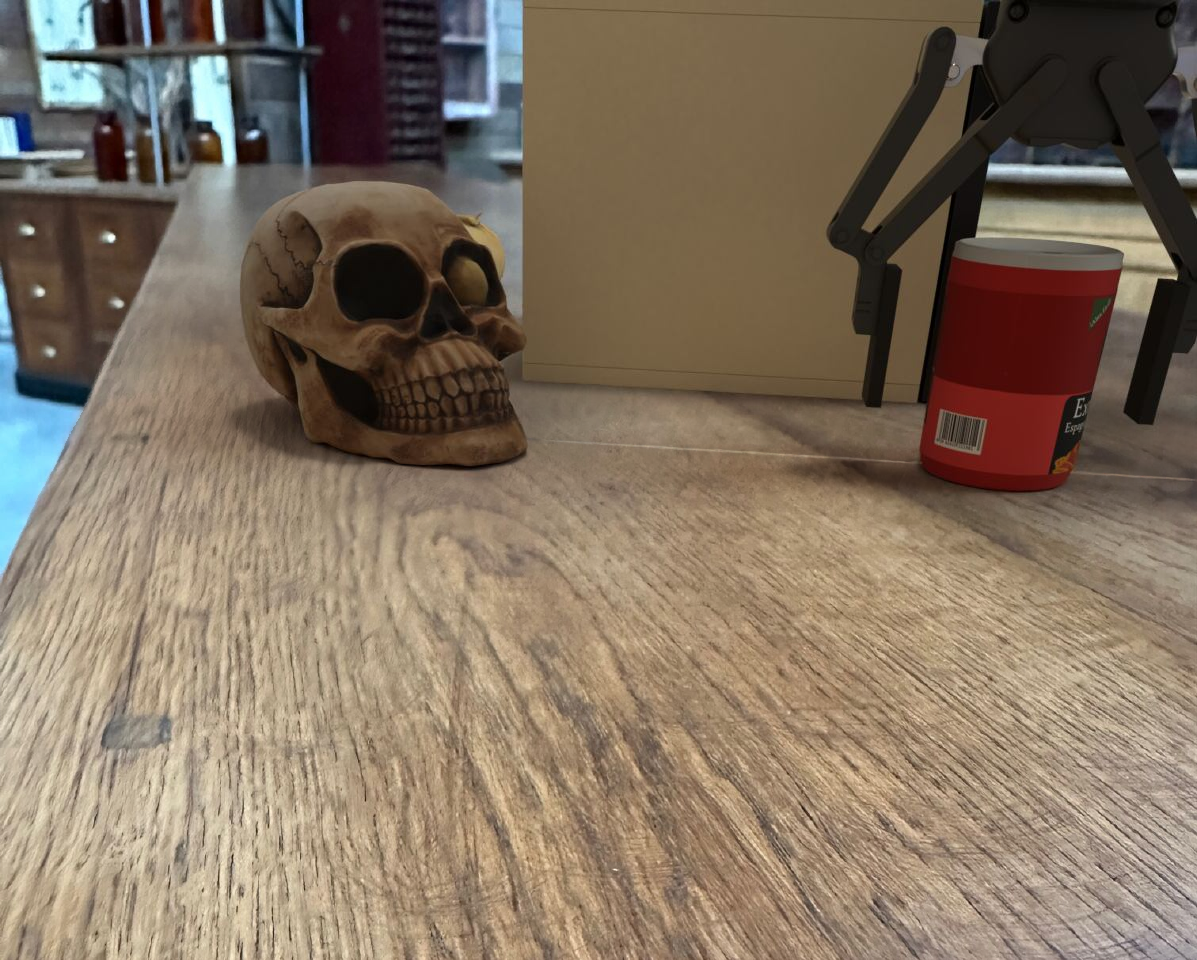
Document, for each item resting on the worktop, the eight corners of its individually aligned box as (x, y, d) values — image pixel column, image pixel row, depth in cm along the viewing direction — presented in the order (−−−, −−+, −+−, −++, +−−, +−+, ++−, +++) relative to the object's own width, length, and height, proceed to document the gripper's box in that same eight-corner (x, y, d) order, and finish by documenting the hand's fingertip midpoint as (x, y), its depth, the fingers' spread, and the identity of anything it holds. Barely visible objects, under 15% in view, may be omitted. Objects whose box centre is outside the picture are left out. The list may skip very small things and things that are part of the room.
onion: (408, 294, 111) (404, 210, 107) (444, 284, 117) (441, 204, 113) (486, 301, 108) (485, 215, 105) (518, 290, 115) (518, 209, 111)
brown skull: (506, 469, 59) (476, 168, 53) (194, 477, 63) (131, 195, 56) (574, 413, 73) (556, 168, 66) (314, 422, 76) (274, 190, 70)
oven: (875, 332, 100) (920, 25, 89) (916, 404, 77) (985, -4, 65) (574, 316, 102) (580, 14, 91) (522, 381, 78) (522, -18, 67)
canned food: (1084, 498, 59) (1143, 258, 53) (921, 486, 60) (963, 249, 54) (1057, 459, 65) (1107, 242, 60) (911, 448, 66) (947, 234, 61)
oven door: (957, 335, 100) (1011, 30, 89) (1024, 408, 76) (1110, 4, 65) (879, 331, 100) (923, 27, 89) (921, 402, 76) (988, 0, 65)
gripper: (820, -125, 48) (763, 410, 59) (1461, -105, 46) (1280, 443, 57) (811, -97, 54) (761, 380, 65) (1373, -79, 52) (1225, 409, 63)
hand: (1003, 411), depth 61 cm, fingers open, 13 cm apart
